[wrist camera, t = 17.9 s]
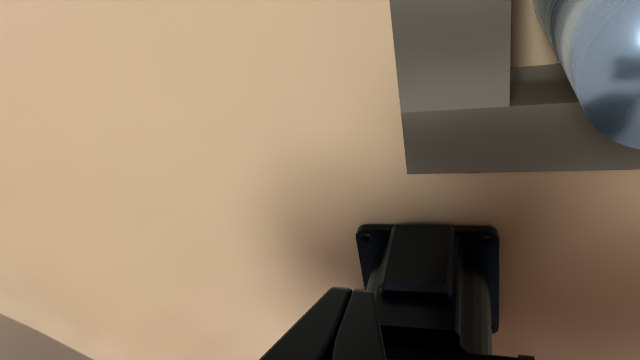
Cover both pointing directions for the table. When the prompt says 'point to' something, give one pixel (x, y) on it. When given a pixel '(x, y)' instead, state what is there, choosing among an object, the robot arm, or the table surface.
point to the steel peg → (599, 59)
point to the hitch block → (487, 97)
